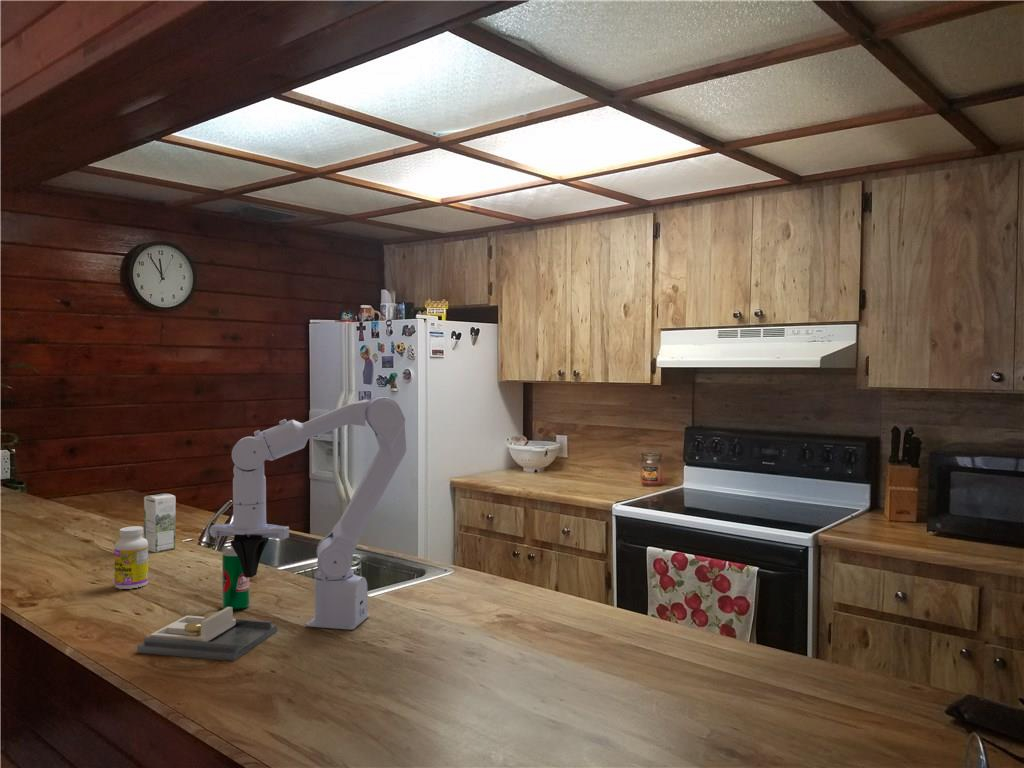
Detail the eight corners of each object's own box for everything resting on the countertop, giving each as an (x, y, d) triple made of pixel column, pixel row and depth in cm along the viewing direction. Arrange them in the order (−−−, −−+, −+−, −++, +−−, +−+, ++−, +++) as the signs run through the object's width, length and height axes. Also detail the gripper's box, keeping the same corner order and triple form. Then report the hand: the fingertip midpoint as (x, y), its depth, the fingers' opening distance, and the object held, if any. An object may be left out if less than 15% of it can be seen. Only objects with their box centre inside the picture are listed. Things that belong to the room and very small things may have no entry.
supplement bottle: (107, 588, 162) (107, 530, 162) (133, 580, 168) (132, 524, 168) (130, 592, 160) (129, 532, 160) (155, 583, 166) (154, 526, 166)
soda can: (240, 612, 146) (240, 551, 146) (217, 610, 147) (217, 550, 147) (254, 604, 151) (254, 545, 151) (232, 602, 152) (231, 544, 152)
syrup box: (164, 545, 202) (164, 492, 201) (176, 549, 198) (175, 494, 198) (143, 550, 197) (143, 495, 197) (155, 553, 194) (155, 497, 193)
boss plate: (277, 631, 135) (276, 610, 135) (233, 661, 122) (233, 637, 122) (188, 624, 139) (188, 604, 139) (137, 652, 125) (136, 629, 125)
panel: (235, 624, 135) (235, 605, 135) (202, 644, 125) (202, 623, 125) (186, 620, 137) (186, 602, 137) (150, 640, 127) (150, 620, 127)
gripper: (200, 505, 134) (201, 580, 134) (275, 507, 131) (276, 584, 131) (222, 498, 140) (223, 569, 141) (294, 500, 138) (294, 573, 138)
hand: (250, 576), depth 136 cm, fingers closed
